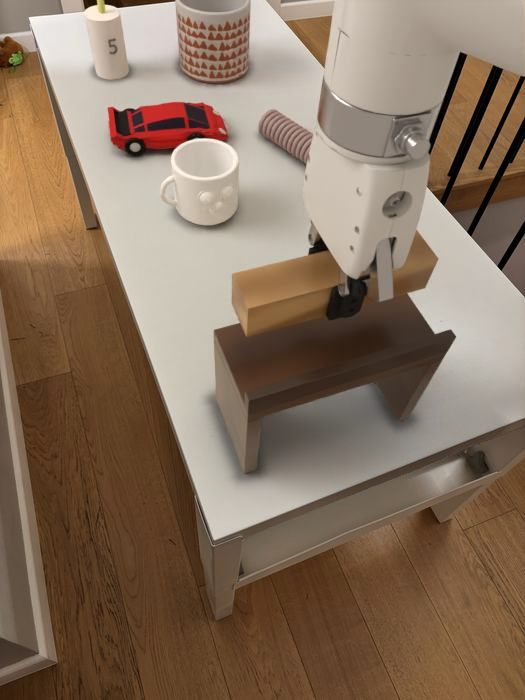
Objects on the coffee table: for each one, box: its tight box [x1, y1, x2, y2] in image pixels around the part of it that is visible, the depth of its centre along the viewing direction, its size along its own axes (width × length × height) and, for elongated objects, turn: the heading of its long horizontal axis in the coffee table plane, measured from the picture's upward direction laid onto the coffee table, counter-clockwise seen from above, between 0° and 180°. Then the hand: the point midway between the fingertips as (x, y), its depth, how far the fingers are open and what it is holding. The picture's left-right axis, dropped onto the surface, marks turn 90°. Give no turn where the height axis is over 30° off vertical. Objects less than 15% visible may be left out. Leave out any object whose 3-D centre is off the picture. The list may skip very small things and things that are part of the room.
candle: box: [83, 0, 130, 81], centre depth 99 cm, size 6×6×15 cm
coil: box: [257, 108, 314, 165], centre depth 91 cm, size 5×5×18 cm
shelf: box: [213, 293, 457, 475], centre depth 58 cm, size 10×21×16 cm, turn 111°
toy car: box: [107, 101, 229, 157], centre depth 92 cm, size 10×20×5 cm, turn 107°
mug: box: [159, 138, 240, 226], centre depth 80 cm, size 12×10×9 cm
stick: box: [231, 229, 439, 337], centre depth 48 cm, size 4×18×4 cm, turn 111°
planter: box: [174, 0, 252, 84], centre depth 103 cm, size 14×14×13 cm
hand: (331, 293), depth 49 cm, fingers closed on stick, 4 cm apart
